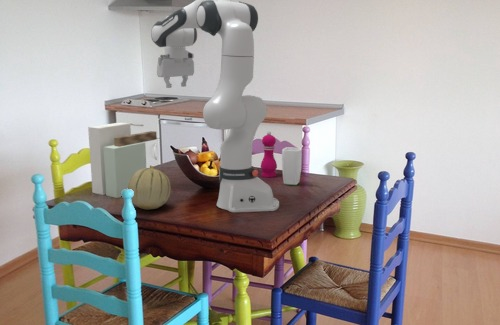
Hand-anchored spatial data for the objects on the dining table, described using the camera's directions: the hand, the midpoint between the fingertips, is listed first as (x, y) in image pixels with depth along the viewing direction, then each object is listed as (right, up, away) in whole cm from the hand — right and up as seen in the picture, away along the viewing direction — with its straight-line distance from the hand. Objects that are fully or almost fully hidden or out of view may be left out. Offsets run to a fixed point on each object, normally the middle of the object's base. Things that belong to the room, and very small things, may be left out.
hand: (176, 87), depth 229 cm
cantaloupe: (-3, -49, -42) cm, 64 cm away
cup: (+49, -42, -8) cm, 65 cm away
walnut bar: (-13, -25, -19) cm, 34 cm away
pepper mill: (+40, -39, +6) cm, 56 cm away
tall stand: (-23, -43, -16) cm, 52 cm away
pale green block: (-17, -44, -20) cm, 51 cm away
